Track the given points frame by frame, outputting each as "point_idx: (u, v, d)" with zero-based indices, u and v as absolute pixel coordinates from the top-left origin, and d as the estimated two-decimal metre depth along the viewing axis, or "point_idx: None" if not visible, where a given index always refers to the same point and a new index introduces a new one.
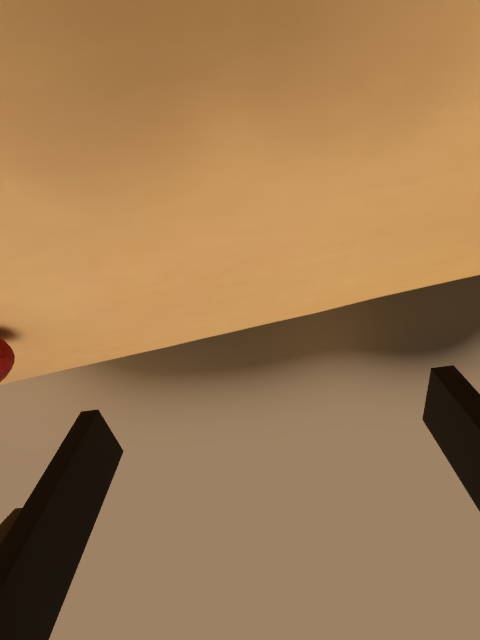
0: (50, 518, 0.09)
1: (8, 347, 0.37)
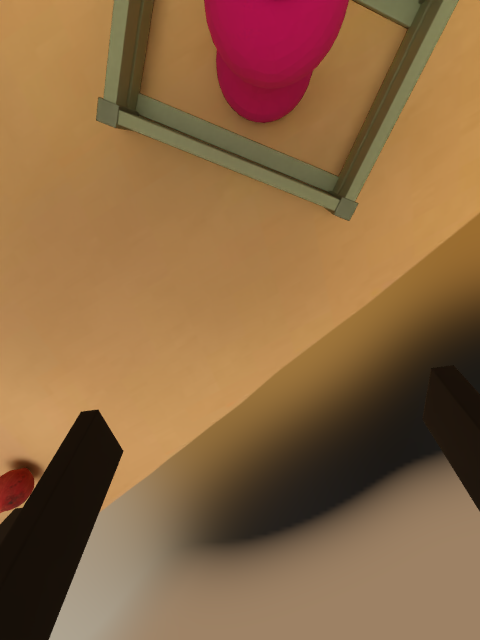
0: (50, 518, 0.09)
1: (29, 476, 0.52)
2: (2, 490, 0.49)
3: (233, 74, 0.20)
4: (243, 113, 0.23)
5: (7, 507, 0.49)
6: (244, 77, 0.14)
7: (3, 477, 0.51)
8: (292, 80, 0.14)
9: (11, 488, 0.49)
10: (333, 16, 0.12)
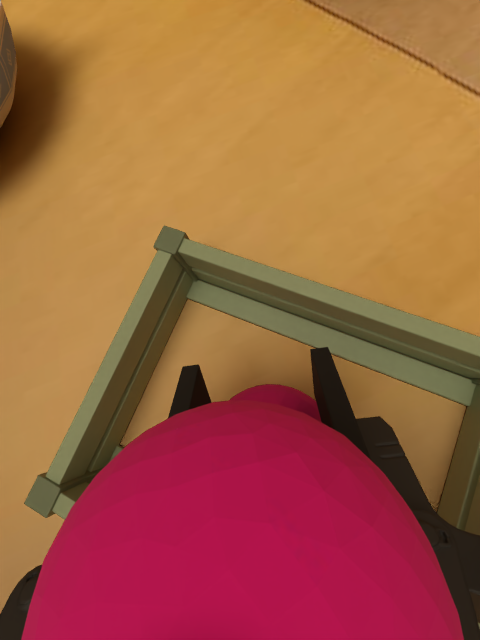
0: None
1: None
2: None
3: None
4: None
5: None
6: None
7: None
8: None
9: None
10: None
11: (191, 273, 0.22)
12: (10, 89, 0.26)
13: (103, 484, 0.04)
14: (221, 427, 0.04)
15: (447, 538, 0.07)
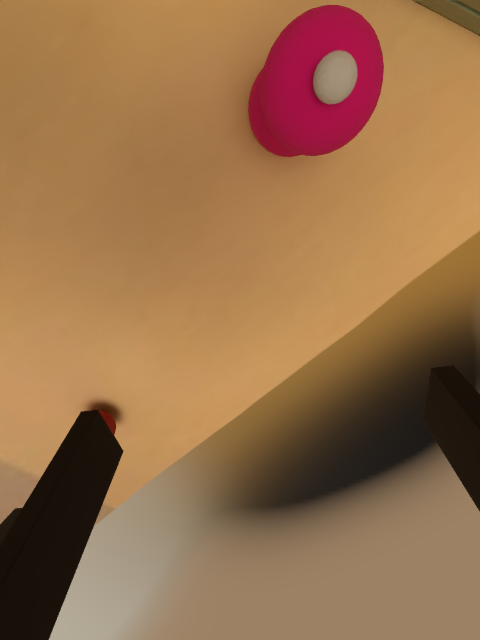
0: (50, 518, 0.09)
1: (111, 418, 0.49)
2: None
3: None
4: (272, 151, 0.26)
5: None
6: (291, 149, 0.17)
7: None
8: None
9: None
10: (368, 111, 0.15)
11: None
12: None
13: (290, 33, 0.13)
14: (327, 8, 0.13)
15: None
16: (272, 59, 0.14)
